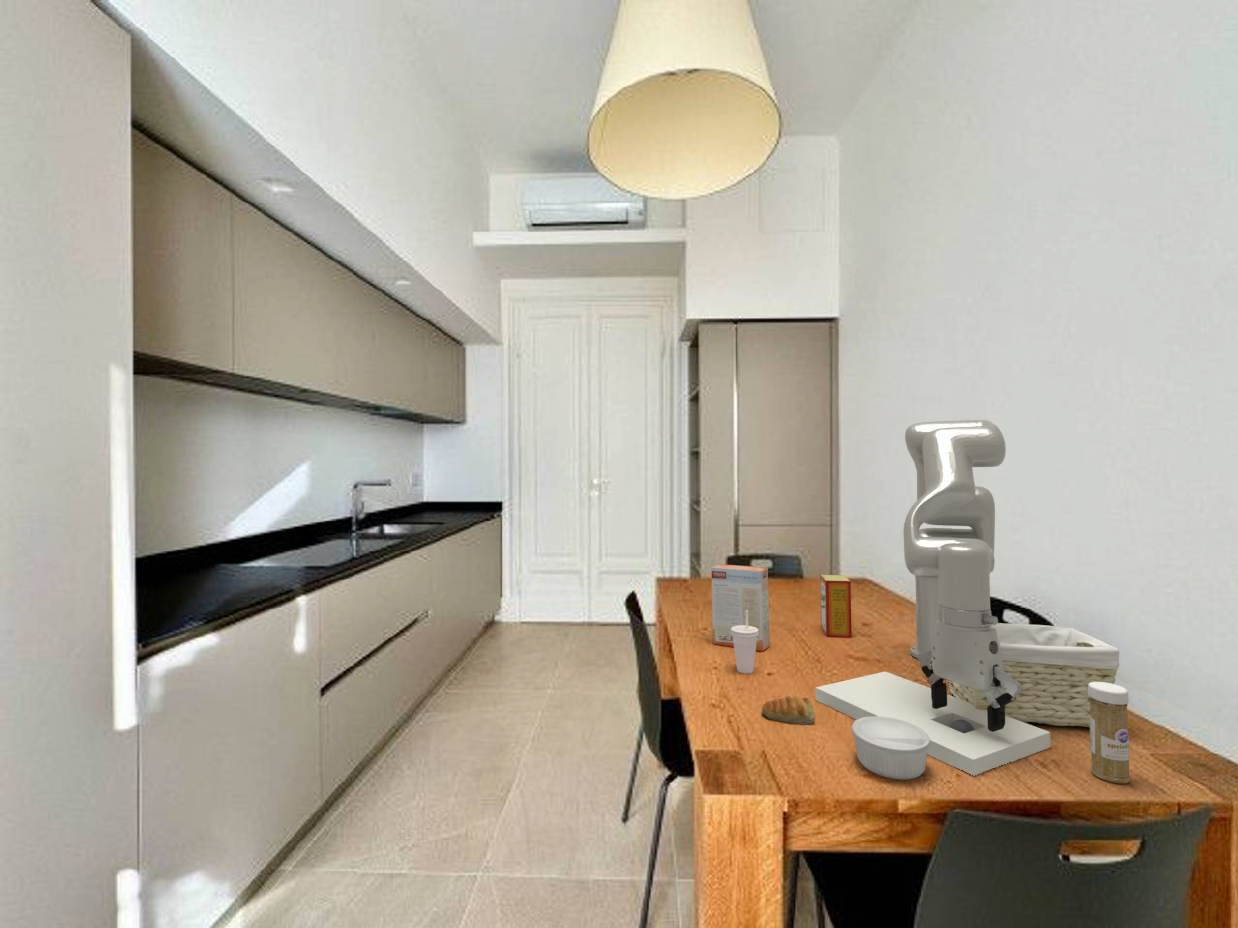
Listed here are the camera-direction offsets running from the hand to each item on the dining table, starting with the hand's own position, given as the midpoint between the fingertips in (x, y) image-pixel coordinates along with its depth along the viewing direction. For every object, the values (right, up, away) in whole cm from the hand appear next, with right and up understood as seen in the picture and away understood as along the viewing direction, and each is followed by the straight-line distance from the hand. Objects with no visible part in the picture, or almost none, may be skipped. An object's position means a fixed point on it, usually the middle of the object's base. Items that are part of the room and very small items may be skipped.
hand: (966, 717), depth 96 cm
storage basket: (+18, -4, +11) cm, 22 cm away
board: (-4, -4, +8) cm, 9 cm away
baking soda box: (+3, -5, +65) cm, 65 cm away
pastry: (-27, -5, +10) cm, 29 cm away
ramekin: (-16, -4, -7) cm, 18 cm away
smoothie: (-30, -5, +35) cm, 46 cm away
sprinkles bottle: (+14, -4, -12) cm, 19 cm away
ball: (-1, -2, 0) cm, 2 cm away
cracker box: (-27, -5, +54) cm, 61 cm away
